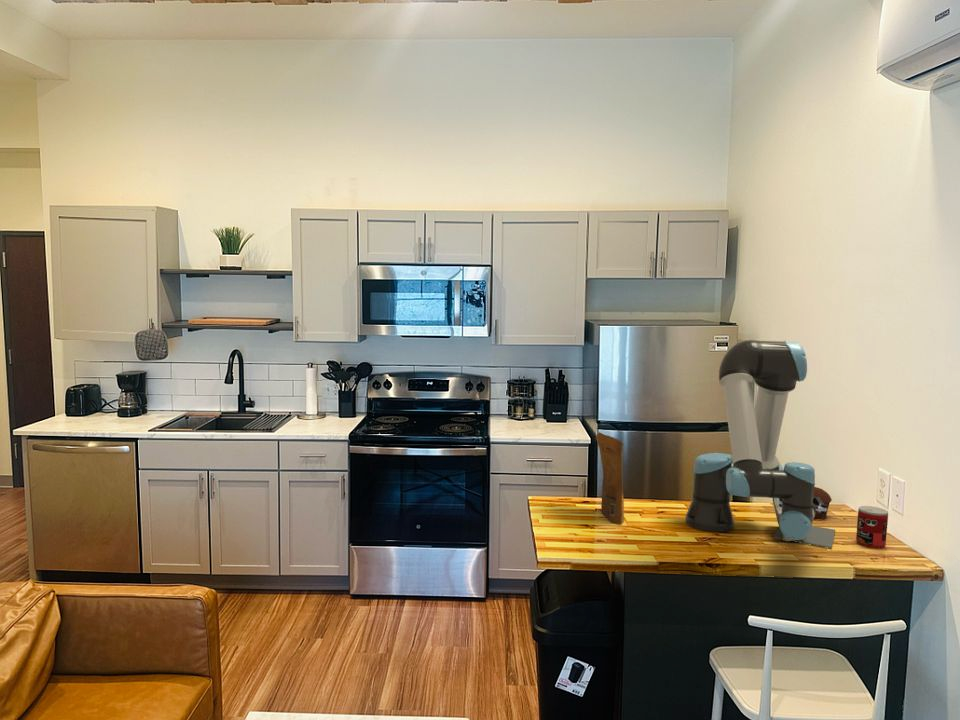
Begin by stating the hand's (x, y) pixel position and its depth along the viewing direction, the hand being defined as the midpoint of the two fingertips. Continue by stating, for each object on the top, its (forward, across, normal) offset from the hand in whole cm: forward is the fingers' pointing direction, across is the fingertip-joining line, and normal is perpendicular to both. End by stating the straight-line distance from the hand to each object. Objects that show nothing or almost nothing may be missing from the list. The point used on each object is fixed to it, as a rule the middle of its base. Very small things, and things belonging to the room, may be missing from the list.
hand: (807, 492), depth 209 cm
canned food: (+6, +18, -15) cm, 24 cm away
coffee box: (-8, -3, -9) cm, 12 cm away
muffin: (+27, 0, -15) cm, 31 cm away
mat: (+3, 0, -14) cm, 15 cm away
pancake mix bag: (-16, -58, -15) cm, 62 cm away
